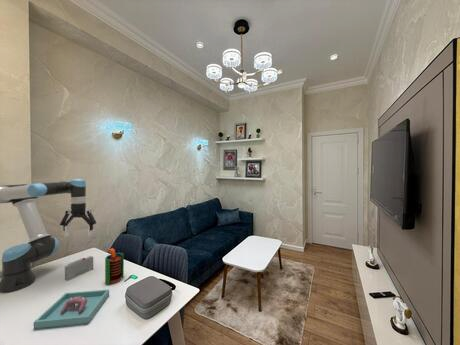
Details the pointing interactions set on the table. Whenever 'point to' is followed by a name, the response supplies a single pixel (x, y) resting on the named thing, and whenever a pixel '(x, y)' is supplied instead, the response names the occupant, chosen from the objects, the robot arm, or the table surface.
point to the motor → (114, 267)
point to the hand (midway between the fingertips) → (78, 235)
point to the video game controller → (71, 304)
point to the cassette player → (78, 268)
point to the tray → (72, 317)
